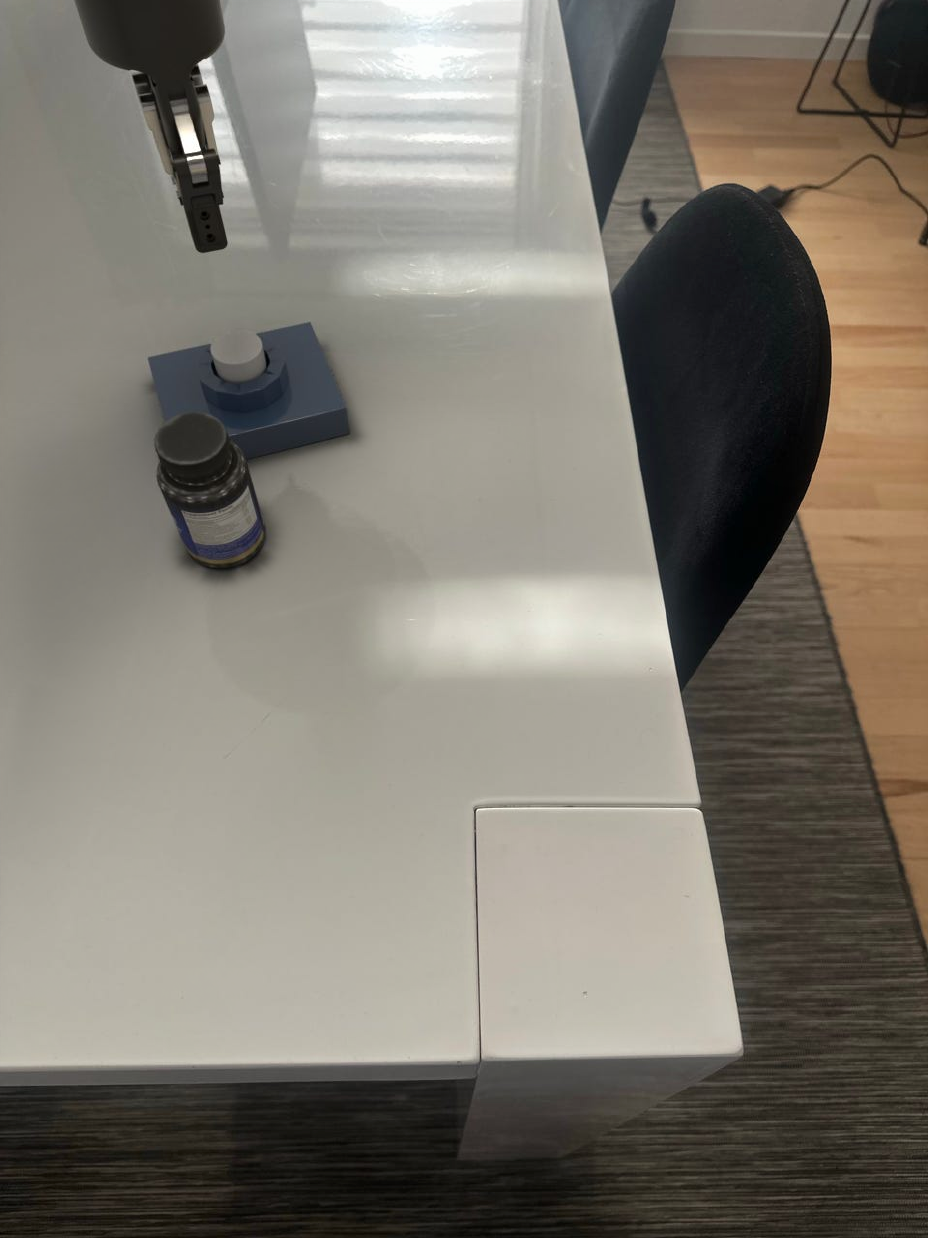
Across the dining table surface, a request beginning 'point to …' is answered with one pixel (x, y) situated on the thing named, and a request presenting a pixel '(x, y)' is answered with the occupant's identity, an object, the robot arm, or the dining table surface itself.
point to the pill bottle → (208, 490)
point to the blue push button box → (259, 393)
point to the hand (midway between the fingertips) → (211, 244)
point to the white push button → (238, 356)
